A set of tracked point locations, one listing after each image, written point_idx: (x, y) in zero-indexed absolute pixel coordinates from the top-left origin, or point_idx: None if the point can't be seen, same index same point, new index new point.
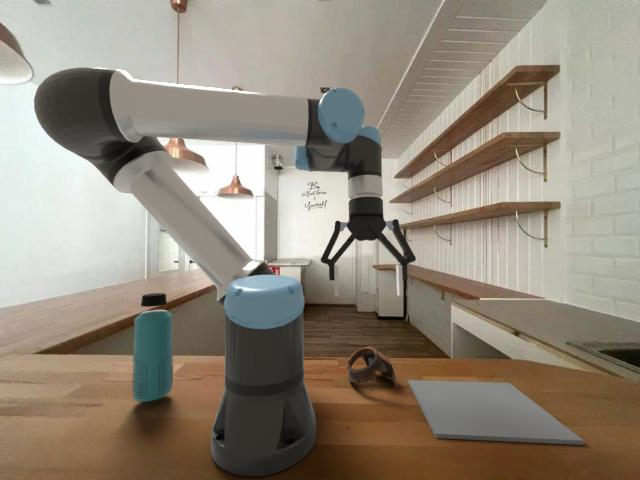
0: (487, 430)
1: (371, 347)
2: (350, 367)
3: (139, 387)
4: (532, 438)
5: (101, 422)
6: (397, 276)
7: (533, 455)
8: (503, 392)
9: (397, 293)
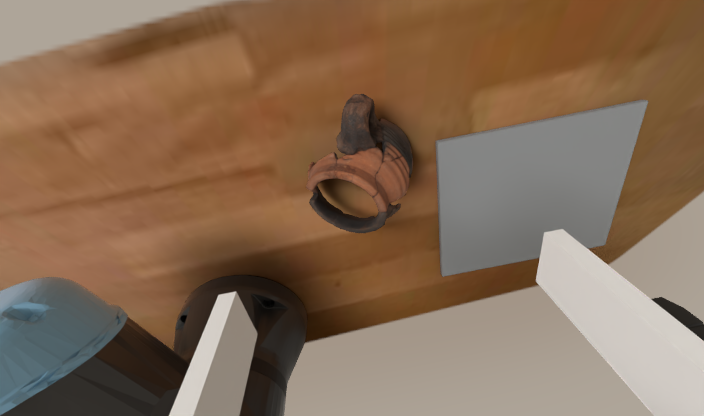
0: (507, 256)
1: (369, 187)
2: (319, 211)
3: None
4: None
5: None
6: (621, 336)
7: (531, 270)
8: (602, 148)
9: (546, 248)
